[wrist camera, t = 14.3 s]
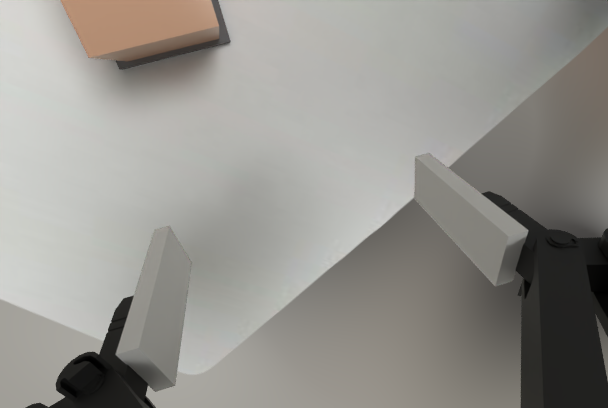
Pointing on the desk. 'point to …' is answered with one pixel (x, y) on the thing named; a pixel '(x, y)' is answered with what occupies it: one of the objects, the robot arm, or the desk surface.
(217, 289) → the desk surface
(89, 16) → the peach salmon cube
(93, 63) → the desk surface
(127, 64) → the coaster
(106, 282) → the desk surface
